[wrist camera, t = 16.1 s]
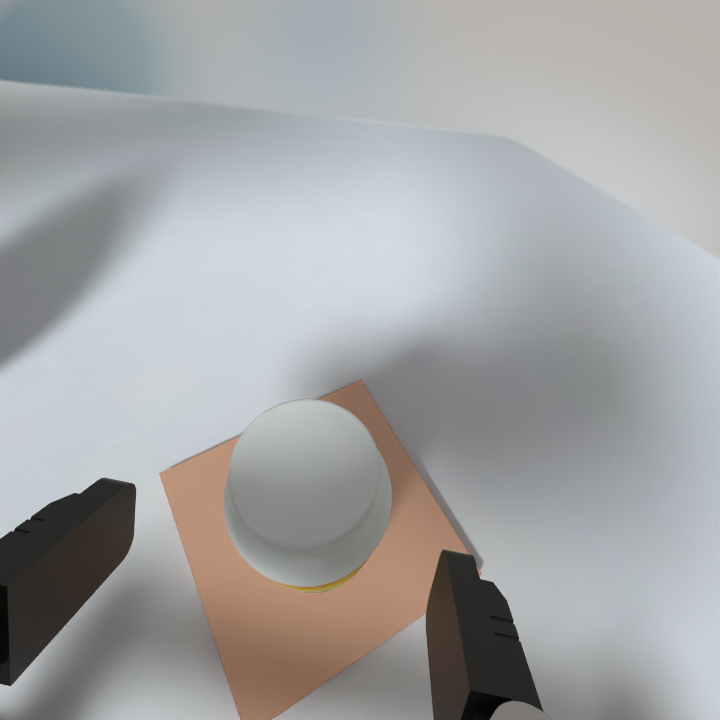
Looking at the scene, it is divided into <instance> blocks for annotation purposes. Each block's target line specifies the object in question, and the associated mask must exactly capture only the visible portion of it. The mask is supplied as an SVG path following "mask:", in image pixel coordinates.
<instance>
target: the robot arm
mask: <svg viewBox="0 0 720 720" xmlns="http://www.w3.org/2000/svg"><path fill="white" fill-rule="evenodd" d="M135 503H136V487H135V485H134V484H133V483H128V482H123V481H118V480H113V479H109V478H101V479H99V480H98V481H96V482H95V483H94V484H92V485H91V486H90V487H88V488H87V489H86V490H84V491H83V492H82V493H80V494H77V493H73V494H71V495H69V496H66V497H64V498H61V499H59V500H57V501H54V502H52V503H50V504H48V505H47V506H46V507H44V508H43V509H41V510H40V511H39V512H37V513H36V514H34V515H33V516H32V517H31V519H30V520H28V519H27V520H26V521H25V522H23V523H22V524H20V525H19V526H18V527H16V528H15V530H14V532H12V531H11V532H9V533H8V534H7V535H5V536H4V537H2V538H1V539H0V684H4V685H8V686H11V685H12V684H13V683H14V682H15V681H16V680H17V679H18V677H19V676H20V675H21V674H22V673H23V672H24V671H25V670H26V668H27V667H28V666H29V665H30V664H31V663H32V662H33V661H34V659H35V658H36V657H37V656H38V655H39V654H40V653H41V652H42V650H43V649H44V648H45V647H46V646H47V645H48V644H49V643H50V642H51V640H52V639H53V638H54V637H55V636H56V635H57V634H58V633H59V631H60V630H61V629H62V628H63V627H64V626H65V625H66V624H67V622H68V621H69V620H70V619H71V618H72V617H73V616H74V615H75V614H76V612H77V611H78V610H79V609H80V608H81V607H82V606H83V605H84V603H85V602H86V601H87V600H88V599H89V598H90V597H91V596H92V594H93V593H94V592H95V591H96V590H97V589H98V588H99V587H100V586H101V584H102V583H103V582H104V581H105V580H106V579H107V578H108V577H109V575H110V574H111V573H112V572H113V571H114V570H115V569H116V568H117V566H118V565H119V564H120V563H121V562H122V561H123V559H124V558H125V557H126V555H127V553H128V551H129V549H130V547H131V544H132V541H133V536H134V522H135ZM426 635H427V646H428V658H429V670H430V681H431V693H432V705H433V716H434V720H552V719H551V718H550V717H549V716H548V715H547V714H545V713H544V712H543V709H542V706H541V703H540V700H539V697H538V694H537V691H536V688H535V685H534V682H533V679H532V676H531V673H530V670H529V667H528V664H527V661H526V658H525V654H524V651H523V648H522V645H521V642H519V636H518V633H517V630H516V627H515V625H514V624H513V618H512V615H511V612H510V609H509V606H508V603H507V600H506V599H505V598H504V596H503V595H502V594H501V592H500V591H499V590H498V588H497V587H496V586H495V584H494V583H493V582H490V581H486V580H481V579H480V577H479V573H478V569H477V566H476V562H475V559H474V557H473V555H468V554H464V553H459V552H454V551H449V550H444V549H443V550H442V552H441V554H440V557H439V561H438V564H437V568H436V572H435V576H434V579H433V583H432V587H431V591H430V594H429V598H428V603H427V610H426Z"/></svg>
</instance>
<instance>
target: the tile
mask: <svg viewBox="0 0 720 720" xmlns="http://www.w3.org/2000/svg"><path fill="white" fill-rule="evenodd" d="M318 400H324V401H328V402H331V403H334V404H336V405H339V406H341V407H343V408H344V409H346V410H348V411H350V412H351V413H352V414H353V415H355V416H356V417H357V418H358V419H359V420H360V421H361V422H362V423H363V424H364V425H365V427H366V428H367V429H368V431H369V432H370V434H371V436H372V438H373V440H374V442H375V444H376V447H377V449H378V450H379V452H380V454H381V455H382V457H383V459H384V461H385V464H386V466H387V469H388V472H389V476H390V481H391V487H392V506H391V513H390V518H389V522H388V525H387V528H386V530H385V533H384V535H383V537H382V539H381V541H380V543H379V544H378V546H377V548H376V549H375V550H374V552H373V553H372V554H371V556H370V557H369V558H368V560H367V561H366V563H365V564H364V565H363V567H362V568H361V569H360V570H359V571H358V572H357V574H356V575H355V576H354V577H352V578H351V579H350V580H349V581H347V582H346V583H344V584H343V585H341V586H339V587H337V588H335V589H333V590H329V591H326V592H320V593H307V592H300V591H296V590H293V589H290V588H288V587H286V586H284V585H282V584H280V583H277V582H275V581H273V580H270V579H268V578H266V577H265V576H263V575H262V574H260V573H259V572H258V571H256V570H255V569H254V568H252V567H251V566H250V565H249V564H248V563H247V562H246V561H245V560H244V558H243V557H242V556H241V555H240V553H239V552H238V550H237V549H236V547H235V546H234V544H233V542H232V540H231V537H230V535H229V532H228V529H227V526H226V522H225V516H224V490H225V485H226V481H227V477H228V471H229V463H230V459H231V455H232V453H233V450H234V447H235V445H236V443H237V441H238V439H239V438H240V436H238V437H236V438H234V439H232V440H230V441H228V442H225V443H223V444H221V445H219V446H217V447H215V448H213V449H210V450H208V451H206V452H204V453H202V454H200V455H198V456H195V457H193V458H191V459H189V460H187V461H185V462H183V463H180V464H178V465H176V466H174V467H172V468H170V469H168V470H165V471H163V472H161V473H159V474H160V477H161V480H162V483H163V486H164V489H165V492H166V495H167V498H168V501H169V504H170V507H171V510H172V514H173V517H174V520H175V523H176V526H177V529H178V532H179V535H180V538H181V541H182V544H183V547H184V550H185V553H186V556H187V559H188V562H189V565H190V568H191V571H192V574H193V577H194V580H195V583H196V586H197V589H198V592H199V595H200V598H201V601H202V604H203V607H204V610H205V614H206V617H207V620H208V623H209V626H210V629H211V632H212V635H213V638H214V641H215V644H216V647H217V650H218V653H219V656H220V659H221V662H222V665H223V668H224V671H225V674H226V677H227V680H228V683H229V686H230V689H231V692H232V695H233V698H234V701H235V704H236V707H237V710H238V713H239V717H240V720H272V719H273V718H275V717H276V716H278V715H279V714H280V713H282V712H283V711H285V710H286V709H288V708H289V707H291V706H292V705H293V704H295V703H296V702H298V701H299V700H301V699H302V698H304V697H305V696H306V695H308V694H309V693H311V692H312V691H314V690H315V689H317V688H318V687H319V686H321V685H322V684H324V683H325V682H327V681H328V680H330V679H331V678H332V677H334V676H335V675H337V674H338V673H340V672H341V671H343V670H344V669H345V668H347V667H348V666H350V665H351V664H353V663H354V662H356V661H357V660H358V659H360V658H361V657H363V656H364V655H366V654H367V653H369V652H370V651H371V650H373V649H374V648H376V647H377V646H379V645H380V644H382V643H383V642H384V641H386V640H387V639H389V638H390V637H392V636H393V635H395V634H396V633H398V632H399V631H400V630H402V629H403V628H405V627H406V626H408V625H409V624H411V623H412V622H413V621H415V620H416V619H418V618H419V617H421V616H422V615H424V614H425V613H426V610H427V603H428V598H429V594H430V591H431V587H432V583H433V579H434V576H435V572H436V568H437V564H438V561H439V557H440V554H441V552H442V550H443V549H444V550H449V551H454V552H459V553H464V554H468V555H470V554H469V553H468V551H467V550H466V548H465V546H464V545H463V543H462V542H461V540H460V538H459V537H458V535H457V533H456V532H455V530H454V529H453V527H452V525H451V524H450V522H449V521H448V519H447V517H446V516H445V514H444V513H443V511H442V509H441V508H440V506H439V505H438V503H437V501H436V500H435V498H434V497H433V495H432V493H431V492H430V490H429V488H428V487H427V485H426V484H425V482H424V480H423V479H422V477H421V476H420V474H419V472H418V471H417V469H416V468H415V466H414V464H413V463H412V461H411V460H410V458H409V456H408V455H407V453H406V451H405V450H404V448H403V447H402V445H401V443H400V442H399V440H398V439H397V437H396V435H395V434H394V432H393V431H392V429H391V427H390V426H389V424H388V423H387V421H386V419H385V418H384V416H383V414H382V413H381V411H380V410H379V408H378V406H377V405H376V403H375V402H374V400H373V398H372V397H371V395H370V394H369V392H368V390H367V389H366V387H365V386H364V384H363V382H362V381H361V380H359V381H356V382H354V383H352V384H350V385H348V386H346V387H344V388H341V389H339V390H337V391H335V392H333V393H331V394H329V395H326V396H324V397H322V398H320V399H318ZM477 569H478V567H477ZM478 573H479V576H480V575H481V572H480V570H479V569H478Z"/></svg>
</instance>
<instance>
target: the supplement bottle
mask: <svg viewBox="0 0 720 720" xmlns="http://www.w3.org/2000/svg"><path fill="white" fill-rule="evenodd" d="M391 506H392V487H391V481H390V476H389V472H388V469H387V466H386V464H385V461H384V459H383V457H382V455H381V454H380V452H379V450H378V449H377V447H376V444H375V442H374V440H373V438H372V436H371V434H370V432H369V431H368V429H367V428H366V427H365V425H364V424H363V423H362V422H361V421H360V420H359V419H358V418H357V417H356V416H355V415H353V414H352V413H351V412H350V411H348V410H346V409H344V408H343V407H341V406H339V405H336V404H334V403H331V402H328V401H324V400H318V399H299V400H293V401H289V402H285V403H282V404H279V405H277V406H274V407H273V408H270V409H269V410H267V411H265V412H264V413H262V414H261V415H260V416H258V417H257V418H256V419H255V420H254V421H253V422H252V423H251V424H250V425H249V426H248V427H247V428H246V429H245V431H244V432H243V433H242V435H241V436H240V438H239V439H238V441H237V443H236V445H235V447H234V450H233V453H232V455H231V459H230V463H229V471H228V477H227V481H226V485H225V490H224V516H225V522H226V526H227V529H228V532H229V535H230V537H231V540H232V542H233V544H234V546H235V547H236V549H237V550H238V552H239V553H240V555H241V556H242V557H243V558H244V560H245V561H246V562H247V563H248V564H249V565H250V566H251V567H252V568H254V569H255V570H256V571H258V572H259V573H260V574H262V575H263V576H265V577H266V578H268V579H270V580H273V581H275V582H277V583H280V584H282V585H284V586H286V587H288V588H290V589H293V590H296V591H300V592H307V593H320V592H326V591H329V590H333V589H335V588H337V587H339V586H341V585H343V584H344V583H346V582H347V581H349V580H350V579H351V578H352V577H354V576H355V575H356V574H357V572H358V571H359V570H360V569H361V568H362V567H363V565H364V564H365V563H366V561H367V560H368V558H369V557H370V556H371V554H372V553H373V552H374V550H375V549H376V548H377V546H378V544H379V543H380V541H381V539H382V537H383V535H384V533H385V530H386V528H387V525H388V522H389V518H390V513H391Z"/></svg>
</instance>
